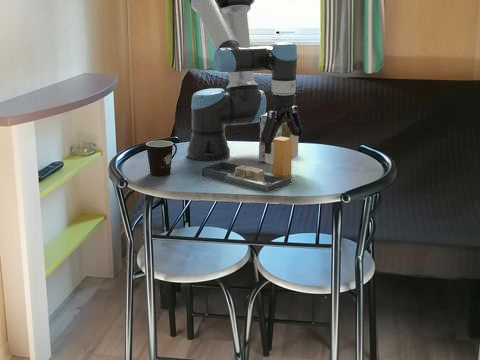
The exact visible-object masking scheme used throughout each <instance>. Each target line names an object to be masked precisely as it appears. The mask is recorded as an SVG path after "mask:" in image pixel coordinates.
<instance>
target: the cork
mask: <svg viewBox="0 0 480 360" xmlns="http://www.w3.org/2000/svg"><path fill="white" fill-rule="evenodd" d="M290 135H293V134H292V133H291V131H290V129H289V127H288V125H287V123H286V122H285V123H283V124H282V137H287V138H290Z"/></svg>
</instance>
